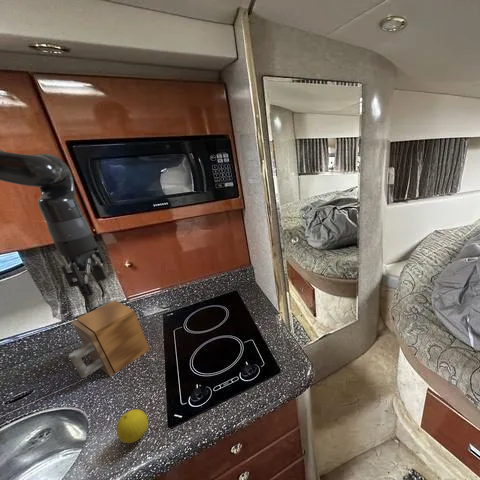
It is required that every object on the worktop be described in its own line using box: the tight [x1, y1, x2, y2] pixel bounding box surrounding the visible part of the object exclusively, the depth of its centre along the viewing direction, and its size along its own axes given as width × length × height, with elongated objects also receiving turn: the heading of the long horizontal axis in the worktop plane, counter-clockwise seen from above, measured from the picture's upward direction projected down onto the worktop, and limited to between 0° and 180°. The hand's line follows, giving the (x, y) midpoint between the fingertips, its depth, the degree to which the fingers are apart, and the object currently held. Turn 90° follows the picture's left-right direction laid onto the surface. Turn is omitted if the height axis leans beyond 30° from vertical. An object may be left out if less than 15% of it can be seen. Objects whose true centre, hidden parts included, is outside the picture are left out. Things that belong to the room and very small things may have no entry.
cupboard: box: [76, 299, 151, 374], centre depth 78 cm, size 10×12×16 cm
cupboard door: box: [68, 319, 115, 379], centre depth 71 cm, size 6×12×16 cm, turn 61°
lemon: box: [116, 408, 149, 444], centre depth 56 cm, size 6×6×8 cm
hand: (95, 287), depth 71 cm, fingers open, 8 cm apart
